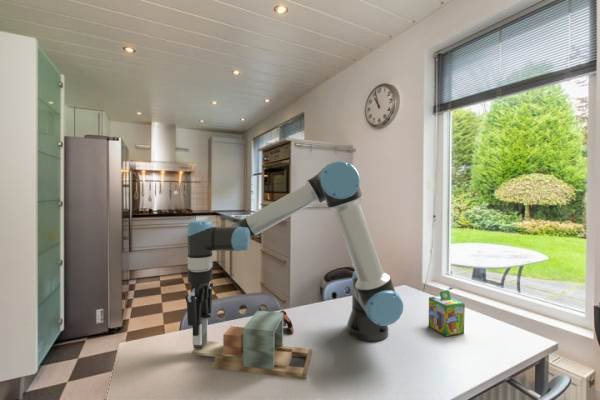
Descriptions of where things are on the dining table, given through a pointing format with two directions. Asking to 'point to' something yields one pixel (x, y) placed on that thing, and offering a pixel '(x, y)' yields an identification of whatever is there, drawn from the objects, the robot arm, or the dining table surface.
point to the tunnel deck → (267, 350)
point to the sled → (228, 348)
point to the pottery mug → (287, 321)
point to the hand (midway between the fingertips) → (200, 341)
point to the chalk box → (446, 314)
